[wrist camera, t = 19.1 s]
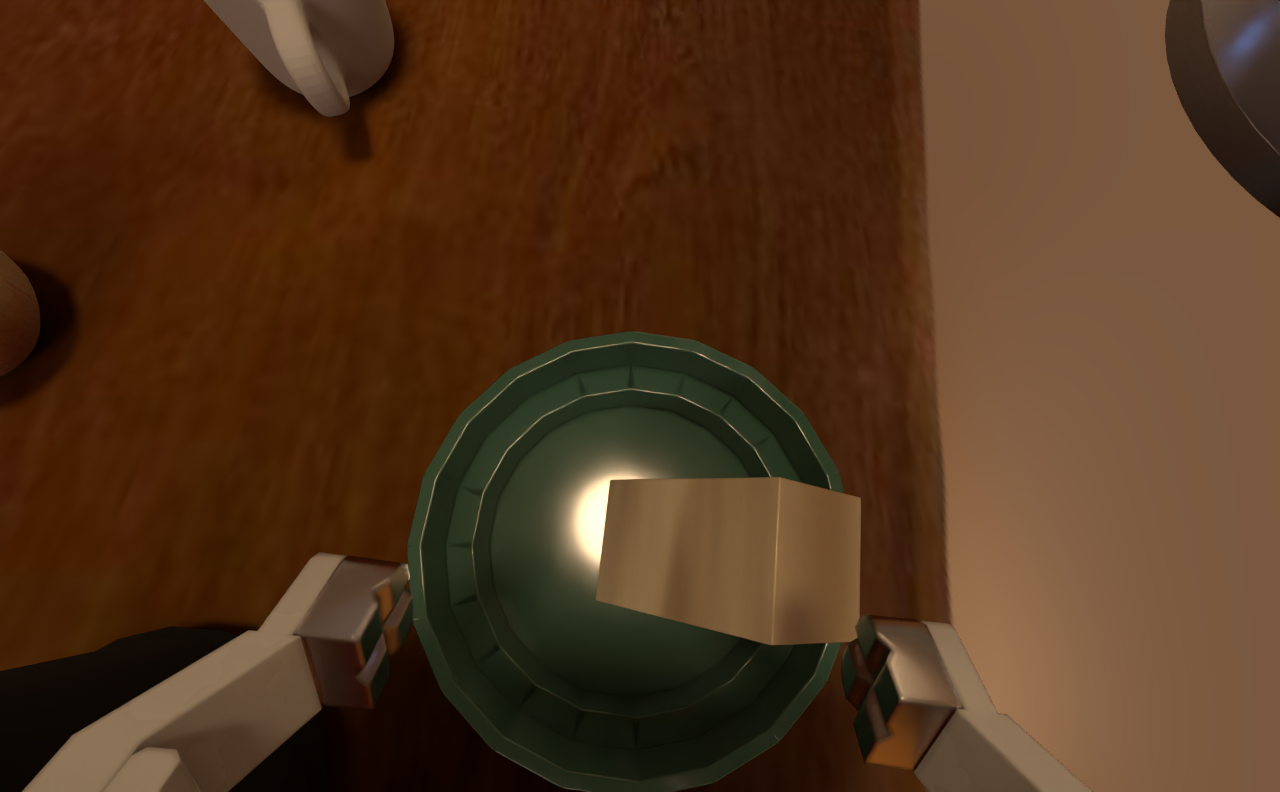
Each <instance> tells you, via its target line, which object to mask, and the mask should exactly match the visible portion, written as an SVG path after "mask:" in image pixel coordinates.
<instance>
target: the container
mask: <svg viewBox="0 0 1280 792" xmlns="http://www.w3.org/2000/svg"><path fill="white" fill-rule="evenodd" d="M236 637H238V636H236V635H234V634H231V633H229V632H227V631H221V630H208V629H195V628H182V627H167V628H162V629H158V630H154V631H150V632H146V633H141V634H137V635H133V636H129V637H125V638H120V639H117V640H115V641H113V642H112V643H110V644H108V645H106V646H104V647H103V648H101V649H99V650H97V651H95V652H90V653H85V654H81V655H76V656H71V657H66V658H62V659H57V660H52V661H47V662H42V663H38V664H33V665H28V666H23V667H19V668H14V669H9V670H4V671H0V792H22V791H23V790H24V789H25V788H26V787H27V786H28V784H29V783H30V782H31V781H32V780H33V779H34V778H35V777H36V775H37V774H38V773H39V772H40V771H41V770H42V769H43V768H44V766H45V765H46V764H47V763H48V762H49V761H50V760H51V759H52V757H53V756H54V755H55V754H56V753H57V752H58V751H59V750H60V749H61V747H62V746H63V745H64V744H65V743H66V742H67V741H68V740H69V738H70V737H71V736H72V735H74V734H75V733H77V732H79V731H80V730H82V729H84V728H85V727H87V726H89V725H90V724H92V723H94V722H95V721H97V720H99V719H100V718H102V717H104V716H105V715H107V714H109V713H110V712H112V711H114V710H115V709H117V708H119V707H121V706H122V705H124V704H126V703H127V702H129V701H131V700H132V699H134V698H136V697H137V696H139V695H141V694H142V693H144V692H146V691H147V690H149V689H151V688H152V687H154V686H156V685H157V684H159V683H161V682H162V681H164V680H166V679H167V678H169V677H171V676H173V675H174V674H176V673H178V672H179V671H181V670H183V669H184V668H186V667H188V666H189V665H191V664H193V663H194V662H196V661H198V660H199V659H201V658H203V657H204V656H206V655H208V654H209V653H211V652H213V651H214V650H216V649H218V648H220V647H221V646H223V645H225V644H226V643H228V642H230V641H231V640H233V639H235V638H236ZM326 783H327V779H326V769H325V759H324V749H323V739H322V729H321V726H320V724H319V721H318V719H317V717H316V715H314V716H313V717H312V718H311V719H310V720H309V721H308V722H307V723H305V724H304V725H303V726H302V727H301V728H300V729H299V730H297V731H296V732H295V733H294V734H293V735H292V736H291V737H290V738H288V739H287V740H286V741H285V742H284V743H283V744H282V745H280V746H279V747H278V748H277V749H276V750H275V751H274V752H272V753H271V754H270V755H269V756H268V757H267V758H266V759H265V760H263V761H262V762H261V763H260V764H259V765H258V766H257V767H255V768H254V769H253V770H252V771H251V772H250V773H249V774H248V775H246V776H245V777H244V778H243V779H242V780H241V781H240V782H238V783H237V784H236V785H235V786H234V787H233V788H232V789H231V790H229V791H228V792H325V788H326Z"/></svg>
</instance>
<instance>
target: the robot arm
mask: <svg viewBox="0 0 1280 792" xmlns="http://www.w3.org/2000/svg"><path fill="white" fill-rule="evenodd" d="M409 578H410V575H409V570H408V565H407V564H403V563H397V562H390V561H383V560H375V559H368V558H361V557H354V556H345V555H337V554H330V553H322V552H319V553H318V554H316V555H315V556H313V557H312V558H311V559H310V560H309V561H308V562H307V564H306V565H305V567H304V568H303V569H302V571H301V572H300V573H299V575H298V576H297V577H296V579H295V580H294V582H293V583H292V584H291V586H290V587H289V588H288V590H287V591H286V593H285V594H284V595H283V597H282V598H281V599H280V601H279V602H278V603H277V605H276V606H275V608H274V609H273V610H272V612H271V613H270V614H269V616H268V617H267V619H266V620H265V621H264V623H263V624H262V625H261V627H260V628H259V630H258V631H251V630H248V631H246V632H245V633H243V634H241V635H240V636H238V637H236V638H235V639H233V640H231V641H230V642H228V643H226V644H225V645H223V646H221V647H220V648H218V649H216V650H214V651H213V652H211V653H209V654H208V655H206V656H204V657H203V658H201V659H199V660H198V661H196V662H194V663H193V664H191V665H189V666H188V667H186V668H184V669H183V670H181V671H179V672H178V673H176V674H174V675H173V676H171V677H169V678H167V679H166V680H164V681H162V682H161V683H159V684H157V685H156V686H154V687H152V688H151V689H149V690H147V691H146V692H144V693H142V694H141V695H139V696H137V697H136V698H134V699H132V700H131V701H129V702H127V703H126V704H124V705H122V706H121V707H119V708H117V709H115V710H114V711H112V712H110V713H109V714H107V715H105V716H104V717H102V718H100V719H99V720H97V721H95V722H94V723H92V724H90V725H89V726H87V727H85V728H84V729H82V730H80V731H79V732H77V733H75V734H74V735H72V736H71V737H70V738H69V740H68V741H67V742H66V743H65V744H64V745H63V746H62V747H61V749H60V750H59V751H58V752H57V753H56V754H55V755H54V756H53V757H52V759H51V760H50V761H49V762H48V763H47V764H46V765H45V766H44V768H43V769H42V770H41V771H40V772H39V773H38V774H37V775H36V777H35V778H34V779H33V780H32V781H31V782H30V783H29V784H28V786H27V787H26V788H25V789H24V790H23V791H22V792H228V791H229V790H231V789H232V788H233V787H234V786H235V785H236V784H237V783H238V782H240V781H241V780H242V779H243V778H244V777H245V776H246V775H248V774H249V773H250V772H251V771H252V770H253V769H254V768H255V767H257V766H258V765H259V764H260V763H261V762H262V761H263V760H265V759H266V758H267V757H268V756H269V755H270V754H271V753H272V752H274V751H275V750H276V749H277V748H278V747H279V746H280V745H282V744H283V743H284V742H285V741H286V740H287V739H288V738H290V737H291V736H292V735H293V734H294V733H295V732H296V731H297V730H299V729H300V728H301V727H302V726H303V725H304V724H305V723H307V722H308V721H309V720H310V719H311V718H312V717H313V716H314V715H316V714H317V713H318V712H319V711H320V710H321V709H322V706H333V707H345V708H358V709H370V710H374V708H375V705H376V703H377V701H378V699H379V697H380V695H381V692H382V690H383V688H384V686H385V684H386V682H387V680H388V677H389V675H390V673H391V671H390V666H389V660H388V659H389V658H390V657H391V656H393V655H394V654H396V653H397V652H398V651H400V650H401V649H402V647H403V645H404V642H405V640H406V638H407V635H408V633H409V629H410V625H411V621H412V617H413V605H414V604H413V596H412V594H411V593H410V592H409V591H408V590H407V589H406V588H405V587H406V584H407V582H408V580H409ZM855 630H856V633H857V637H858V638H856V639H854V640H853V641H851V642H849V643H847V646H846V648H845V651H844V653H843V656H842V666H841V674H842V683H843V687H844V691H845V695H846V698H847V700H848V701H849V702H850V703H851V704H852V705H853V706H854V707H855V708H856V710H857V711H858V714H857V716H856V719H855V721H854V723H853V724H854V728H855V731H856V735H857V739H858V742H859V746H860V749H861V753H862V756H863V760H864V763H866V764H873V765H880V766H888V767H895V768H902V769H909V770H915V772H914V774H915V775H916V777H917V778H918V779H919V780H920V782H921V783H922V784H923V786H924V787H925V788H926V790H927V791H928V792H1093V791H1092V790H1090V789H1089V788H1088V787H1087V786H1086V785H1085V784H1084V783H1082V781H1080V780H1079V779H1078V778H1077V777H1076V776H1075V775H1074V774H1073V773H1072V772H1070V771H1069V770H1068V769H1067V768H1066V767H1065V766H1064V765H1063V764H1062V763H1060V762H1059V761H1058V760H1057V759H1056V758H1055V757H1054V756H1053V755H1051V754H1050V753H1049V752H1048V751H1047V750H1046V749H1045V748H1044V747H1043V746H1042V745H1040V744H1039V743H1038V742H1037V741H1036V740H1035V739H1034V738H1033V737H1031V736H1030V735H1029V734H1028V733H1027V732H1026V731H1025V730H1024V729H1023V728H1021V727H1020V726H1019V725H1018V724H1017V723H1016V722H1015V721H1014V720H1012V719H1011V718H1010V717H1009V716H1008V715H1007V714H1001V713H998V712H997V710H996V708H995V706H994V704H993V702H992V700H991V698H990V696H989V694H988V692H987V691H986V689H985V687H984V685H983V683H982V681H981V679H980V677H979V675H978V673H977V671H976V669H975V667H974V665H973V663H972V661H971V659H970V657H969V655H968V653H967V651H966V649H965V647H964V645H963V644H962V641H961V639H960V638H959V636H958V633H957V632H956V630H955V629H954V628H953V627H952V626H951V625H950V624H947V623H938V622H929V621H918V620H915V619H905V618H895V617H885V616H875V615H863V616H862V617H860V618H859V620H858V622H857V624H856V626H855Z"/></svg>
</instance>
